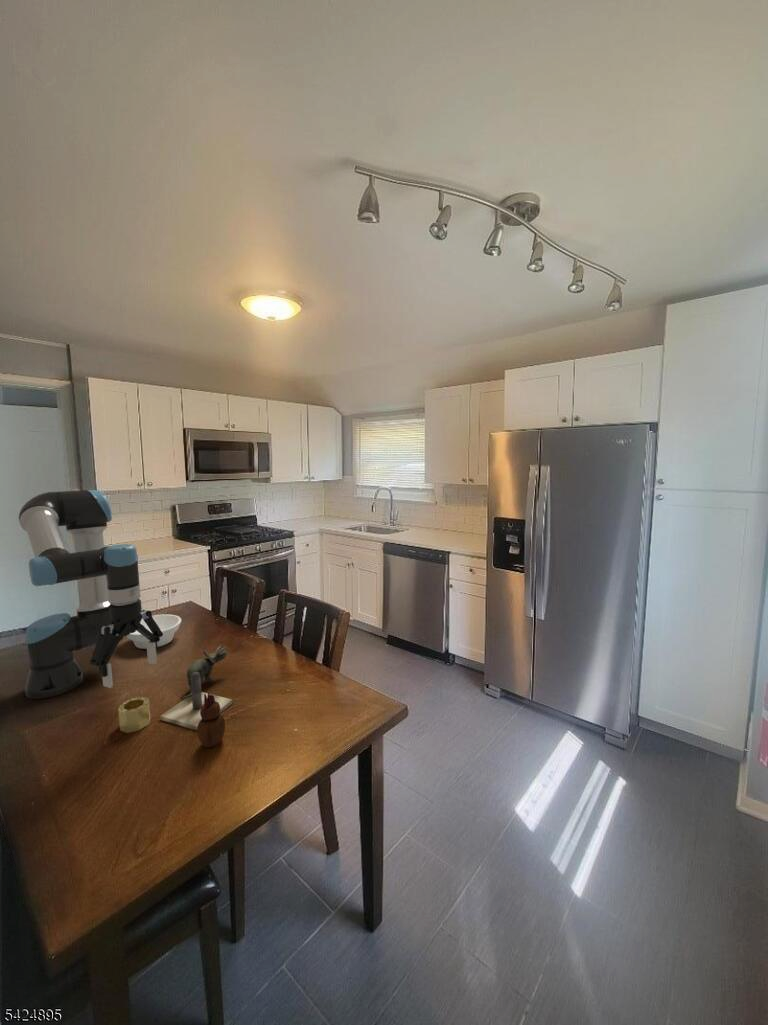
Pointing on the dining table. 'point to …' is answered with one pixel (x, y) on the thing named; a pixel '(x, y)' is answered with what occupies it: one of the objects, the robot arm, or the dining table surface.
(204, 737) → the wooden figurine
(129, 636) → the bowl
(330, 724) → the dining table surface
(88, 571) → the robot arm
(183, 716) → the post board
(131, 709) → the sleeve
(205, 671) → the dinosaur figurine
